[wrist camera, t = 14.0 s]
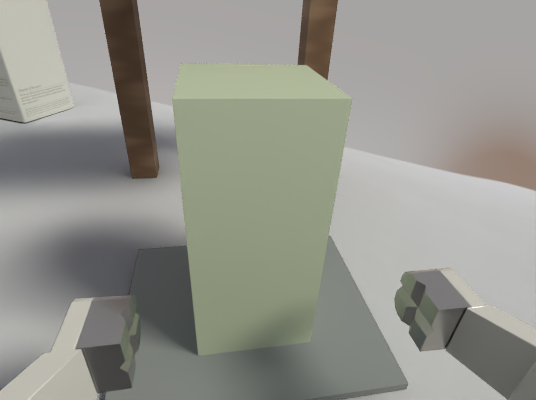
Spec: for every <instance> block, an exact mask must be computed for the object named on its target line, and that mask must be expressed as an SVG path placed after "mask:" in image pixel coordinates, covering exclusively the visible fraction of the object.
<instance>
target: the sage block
mask: <svg viewBox="0 0 536 400" xmlns="http://www.w3.org/2000/svg"><path fill="white" fill-rule="evenodd" d="M172 101H173V111H174V121H175V131H176V140H177V150H178V160H179V170H180V180H181V190H182V200H183V210H184V220H185V230H186V240H187V249H188V259H189V269H190V279H191V289H192V299H193V309H194V319H195V329H196V339H197V349H198V356H201V355H209V354H217V353H225V352H233V351H241V350H249V349H257V348H266V347H274V346H282V345H290V344H298V343H306V342H310V340H311V334H312V329H313V323H314V317H315V311H316V305H317V300H318V294H319V288H320V282H321V277H322V271H323V265H324V259H325V253H326V248H327V242H328V236H329V230H330V225H331V219H332V213H333V207H334V201H335V196H336V190H337V184H338V178H339V173H340V167H341V161H342V155H343V150H344V143H345V138H346V132H347V126H348V121H349V115H350V109H351V103H352V98H350V97H349V96H348V95H346V94H345V93H344V92H342V91H341V90H340V89H338V88H337V87H335V86H334V85H333V84H332V83H330V82H329V81H327V80H326V79H325V78H323V77H322V76H321V75H319V74H318V73H316V72H315V71H314V70H312V69H311V68H310V67H308V66H307V65H263V64H202V63H201V64H200V63H199V64H197V63H181V65H180V69H179V73H178V78H177V82H176V86H175V90H174V94H173V98H172Z"/></svg>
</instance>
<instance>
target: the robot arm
mask: <svg viewBox="0 0 536 400" xmlns="http://www.w3.org/2000/svg"><path fill="white" fill-rule="evenodd" d="M400 281H401V283H402V285H403V286H402V287H401V288H400V289H399V290H397V292H396V295H395V308H396V311H397V314H398V316H399V317H400V319H401V321H403V322H404V323H406V324H407V325H409V326H410V327H409V334H410V336H411V337H412V339H413V340H414V342H415V344H416V345H417V347H418V349H419V350H420V351H430V350H440V349H446V351H447V352H448V353H450V354H451V355H452V356H453V357H455V358H456V359H457V360H458V361H460V362H461V363H462V364H463V365H465V366H466V367H467V368H468V369H470V370H471V371H472V372H474V373H475V374H476V375H477V376H479V377H480V378H481V379H482V380H484V381H485V382H486V383H487V384H489V385H490V386H491V387H492V388H494V389H495V390H496V391H497V392H499V393H500V394H501V395H502V396H504V397H505V398H506V399H507V400H536V329H535V328H533V327H532V326H530V325H528V324H526V323H524V322H522V321H520V320H518V319H516V318H514V317H513V316H511V315H509V314H507V313H505V312H503V311H501V310H499V309H497V308H495V307H494V306H492V305H491V306H487V305H486V304H485V303H484V302H483V301H482V300H481V299H480V297H479V296H478V295H477V294H476V293H475V292H474V291H473V290H472V289H471V288H470V287H469V285H468V284H467V283H466V282H465V281H464V280H463V279H462V278H461V277H460V276H459V275H458V273H457V272H456V271H455V270H453V269H451V268H441V269H430V270H419V271H409V272H405V273H404V274H403V275H402V277H401V280H400ZM136 306H137V303H136V299H135V296H134V295H121V296H104V297H94V298H77V299H74V301H73V302H72V303H71V304H70V307H69V309H68V311H67V314H66V316H65V318H64V321H63V323H62V325H61V328H60V330H59V333H58V335H57V337H56V340H55V342H54V344H53V347H52V349H51V352H47V353H43V354H42V355H41V356H40V357H39V358H37V359H36V360H35V361H34V362H33V363H32V364H31V365H29V366H28V367H27V368H26V369H25V370H24V371H22V372H21V373H20V374H19V375H18V376H17V377H15V378H14V379H13V380H12V381H11V382H10V383H9V384H7V385H6V386H5V387H4V388H3V389H2V390H0V400H95V398H96V397H97V396H98V395H97V393H103V392H110V391H116V390H123V389H129V388H132V386H133V380H134V374H135V369H136V361H135V356H134V354H135V353H136V352H137V351H138V350H139V346H140V338H141V324H140V317H139V315H138V314H137V313H135V311H136Z"/></svg>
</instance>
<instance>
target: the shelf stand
mask: <svg viewBox="0 0 536 400" xmlns="http://www.w3.org/2000/svg"><path fill="white" fill-rule="evenodd" d="M99 1H100V6H101V12H102V17H103V22H104V28H105V34H106V39H107V44H108V49H109V55H110V61H111V66H112V71H113V77H114V82H115V87H116V93H117V99H118V104H119V110H120V115H121V120H122V126H123V131H124V137H125V142H126V148H127V153H128V158H129V164H130V169H131V175H132V178H152V177H157V175H158V170H159V162H158V154H157V147H156V139H155V132H154V125H153V117H152V110H151V102H150V95H149V87H148V81H147V73H146V65H145V58H144V51H143V43H142V36H141V28H140V21H139V13H138V6H137V0H99ZM337 2H338V0H303V9H302V21H301V33H300V44H299V56H298V65H307V66H308V67H310V68H311V69H312V70H314V71H315V72H316V73H318V74H319V75H321V76H322V77H323V78H325V79H326V80H327V79H328V72H329V63H330V56H331V49H332V41H333V33H334V25H335V18H336V11H337Z"/></svg>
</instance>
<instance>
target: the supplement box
mask: <svg viewBox="0 0 536 400" xmlns="http://www.w3.org/2000/svg"><path fill="white" fill-rule="evenodd" d="M73 107H74V103H73V99H72V95H71V91H70V87H69V84H68V80H67V76H66V72H65V68H64V65H63V61H62V57H61V54H60V49H59V46H58V42H57V38H56V34H55V30H54V27H53V23H52V19H51V15H50V11H49V7H48V4H47V0H0V118H3V119H8V120H13V121H18V122H24V123H26V122H30V121H33V120H36V119H39V118H42V117H46V116H49V115H52V114H55V113H58V112H61V111H64V110H68V109H70V108H73Z"/></svg>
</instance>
